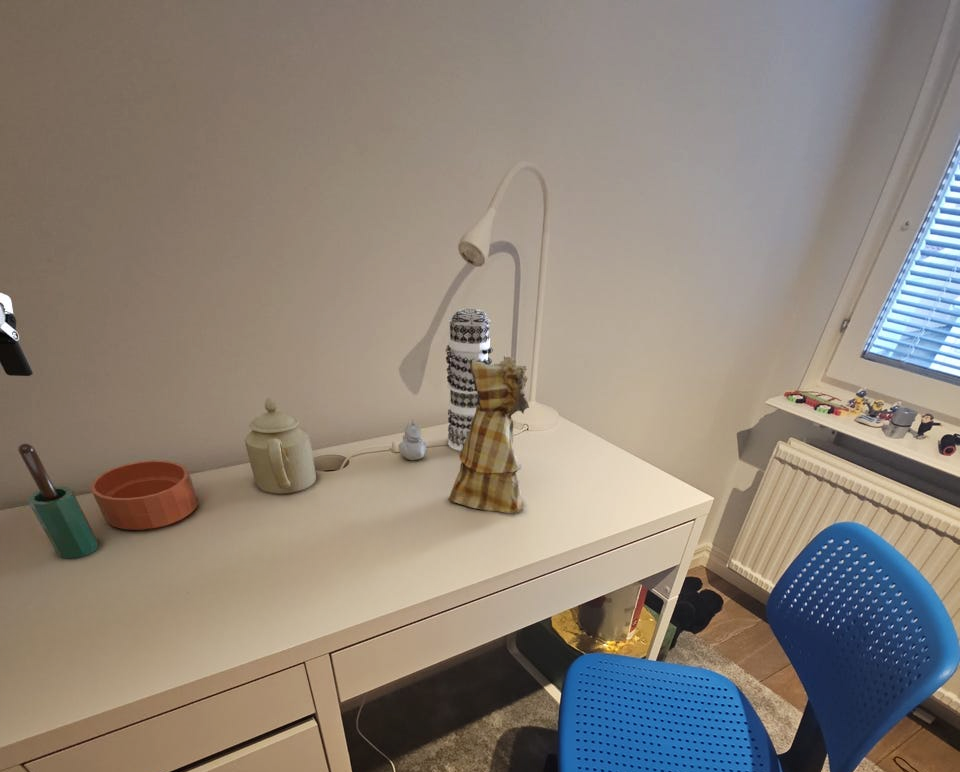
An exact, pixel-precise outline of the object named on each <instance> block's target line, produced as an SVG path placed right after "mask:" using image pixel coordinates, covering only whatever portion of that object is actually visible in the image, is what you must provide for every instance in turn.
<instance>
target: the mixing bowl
mask: <svg viewBox="0 0 960 772" xmlns="http://www.w3.org/2000/svg"><path fill="white" fill-rule="evenodd" d="M89 487H90V490H91V493H92V495H93V498H94V499H95V502H96V503H97V506H98V508H99V510H100V512H101V514H102V516H103V519H104V521H105V523H107V524H109V525H110V526H112V527H114V528H119V529H121V530H122V529H123V530H137V531H141V530H153V529H158V528H163V527H166V526H169V525H171V524H175V523H177V522H179V521H180V520H182V519H184V518H186V517H187V516H189V515H191V514H192V513H193V512H194V510H196V508H197V507H198V501H199V500H198V496H197V492H196V490H195V488H194V484H193V481H192V478H191V476H190V472H189V470H188V469H187V467H186V466H185V465H182V464H181V463H179V462H175V461H169V460H157V459H154V460H153V459H152V460H142V461H141V460H140V461H136V462H135V461H134V462H131V463H125V464H122V465H119V466H115V467H113V468H110V469H108V470H106V471H104V472H102V473H100V474H99V475H98V476H97V477H95V478H94V479H92V482H91V484H90V486H89Z"/></svg>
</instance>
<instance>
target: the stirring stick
mask: <svg viewBox="0 0 960 772" xmlns="http://www.w3.org/2000/svg"><path fill="white" fill-rule="evenodd" d="M17 448H18V449H17V451H18V453H19V455H20V457H21V459H22V460H23V462H24V464H25V466H26V468H27V470H28V472H29V473H30V476H31V477H32V479H33V481H34V483H35V485H36V487H37V489H38V491H39V490H40V492H41V494H42V496H43V498H44V500H45V502H47V501H53V500H56V499H59V498H60V497H59V495H58V493H57V492H56V490H55V488H54V487H55V486H54V484H53V482H52V480H51V478H50V476H49V474H48V472H47V470H46V468H45V466H44V464H43V463H42V460H41V459H40V457H39V455H38V452H37V450H36V449H35V447H34V446H33V445H31V444H29V443H21V444H20V445H19V446H18V447H17Z"/></svg>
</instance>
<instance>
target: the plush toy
mask: <svg viewBox="0 0 960 772" xmlns="http://www.w3.org/2000/svg"><path fill="white" fill-rule="evenodd" d="M470 368H471V371H472V375H473V380H474V385H475V389H476V390H477V393H478V400H477V405H478V406H477V408H476V413H475V415H474V417H473V420H472V422H471V428H470V432H469V434H468V436H467V438H466V441H465V444H464V446H463V449H462V450H461V451H459V460H460V461H461V463H460V468H459V472H458V474H457V476H456V478H455V481H454V484H453V487H452V489H451V491H450V494H449V496H448V499H447V500H448V501H451V502H452V503H455V504H456V503H457V504H459V505H463V506H466V507H469V508H473V509H477V510H483V511H488V512H498V513H499V512H501V513H507V514H509V513H510V514H515V513H519V512H521V511H523V510H524V505H523V497H522V492H521V488H520V482H519V479H518V475H517V472H518V471H519V470H521V469H522V464H521V463H520V461H519V459H518V458H517V456H516V454H515V450H514V420H513V418H512V417H513V415H515V413H516V412H521V414H522V415H524V413H525V411H526V410H527V409H530V406H529V402H528V401H527V397H525V396H526V392H525V387H526V383H527V381H528V377H527V376H526V371H527V369H528V368H527V366H526V365H517V360H516V359H515V358H513V357H510V356H505V355H503V360H501V361H500V363H493V364H489V365H487V364H484V363H482V362H478V361H477V360H472V362H471V365H470Z"/></svg>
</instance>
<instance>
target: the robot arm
mask: <svg viewBox="0 0 960 772" xmlns="http://www.w3.org/2000/svg"><path fill="white" fill-rule="evenodd" d="M12 302H13V301H12V299H11V297H10V295H8V294H5V293H2V292H0V365H1V367H2V369H3V371H4V373H5V374H6V375H7V376H10V377H11V376H13V377H30V376H33V373H34V372H33V370H32V368H31V366H30V364H29V361H28V360H27V358H26V355H25V354H24V352H23V349H22V347H21V345H20V343H19V340H20V335H19V333H18V331H17V319H16V317H15V315H14V308H13V303H12Z"/></svg>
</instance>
